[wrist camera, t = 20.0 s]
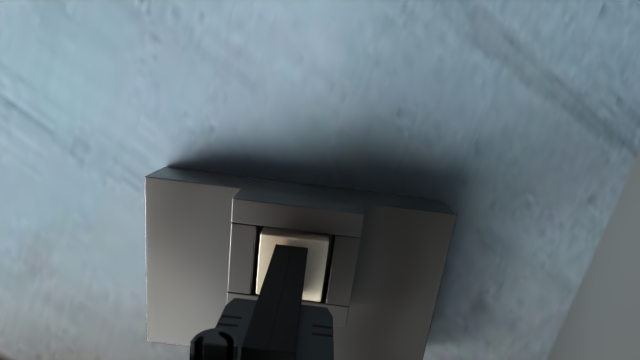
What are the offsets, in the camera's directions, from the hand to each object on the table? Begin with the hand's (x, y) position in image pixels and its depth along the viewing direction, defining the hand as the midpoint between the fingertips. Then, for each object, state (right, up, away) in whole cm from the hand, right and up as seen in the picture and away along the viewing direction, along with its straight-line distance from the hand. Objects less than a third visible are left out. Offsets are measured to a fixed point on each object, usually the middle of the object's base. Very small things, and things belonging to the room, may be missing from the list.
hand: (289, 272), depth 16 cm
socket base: (0, -1, +5) cm, 5 cm away
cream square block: (0, +1, +2) cm, 2 cm away
